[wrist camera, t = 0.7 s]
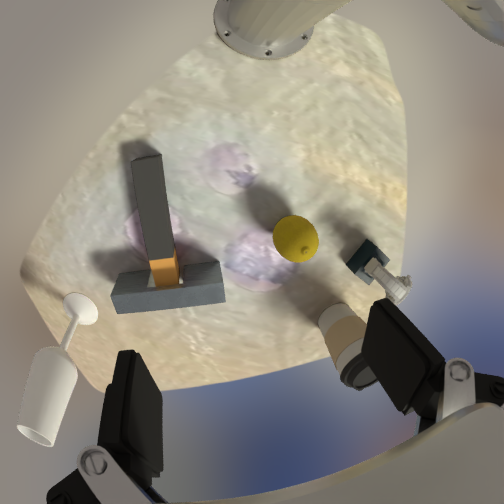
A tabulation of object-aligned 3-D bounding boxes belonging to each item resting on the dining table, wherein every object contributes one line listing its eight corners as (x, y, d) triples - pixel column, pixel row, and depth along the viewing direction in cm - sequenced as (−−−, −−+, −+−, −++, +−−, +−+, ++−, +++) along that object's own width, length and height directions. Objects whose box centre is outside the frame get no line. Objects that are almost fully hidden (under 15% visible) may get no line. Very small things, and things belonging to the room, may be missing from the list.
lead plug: (136, 158, 30) (130, 161, 27) (161, 154, 30) (158, 157, 28) (158, 274, 37) (155, 287, 35) (179, 272, 38) (178, 284, 35)
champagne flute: (104, 321, 39) (72, 453, 18) (74, 327, 39) (36, 446, 17) (86, 289, 36) (33, 423, 15) (56, 296, 35) (-1, 416, 14)
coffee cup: (337, 290, 45) (382, 350, 32) (364, 309, 49) (405, 363, 36) (302, 326, 47) (335, 391, 34) (332, 341, 51) (364, 398, 38)
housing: (119, 273, 36) (110, 295, 31) (219, 261, 38) (223, 282, 33) (124, 290, 37) (117, 314, 32) (221, 279, 40) (225, 302, 35)
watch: (365, 280, 46) (400, 317, 36) (339, 259, 42) (375, 298, 33) (385, 256, 44) (424, 289, 34) (361, 232, 41) (403, 266, 31)
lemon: (266, 208, 36) (284, 231, 29) (305, 207, 37) (330, 228, 30) (266, 246, 39) (282, 275, 32) (302, 243, 40) (325, 270, 33)
